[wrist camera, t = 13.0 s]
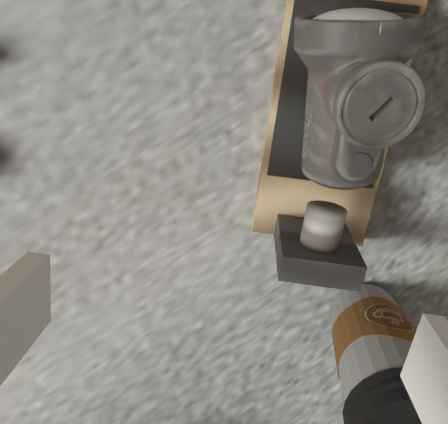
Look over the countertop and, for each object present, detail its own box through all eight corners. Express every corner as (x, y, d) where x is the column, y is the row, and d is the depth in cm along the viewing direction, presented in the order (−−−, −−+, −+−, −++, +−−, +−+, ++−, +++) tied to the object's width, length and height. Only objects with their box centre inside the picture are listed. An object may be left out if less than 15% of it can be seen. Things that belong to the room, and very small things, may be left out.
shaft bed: (358, 238, 39) (388, 295, 30) (252, 224, 39) (250, 276, 30) (441, -78, 29) (520, -130, 20) (300, -93, 30) (318, -152, 21)
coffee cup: (416, 281, 40) (501, 406, 26) (388, 348, 43) (449, 492, 29) (331, 264, 40) (371, 380, 26) (309, 333, 43) (334, 469, 29)
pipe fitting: (287, 5, 30) (316, 13, 21) (398, 5, 30) (475, 13, 21) (277, 160, 36) (297, 219, 27) (370, 160, 36) (421, 218, 27)
